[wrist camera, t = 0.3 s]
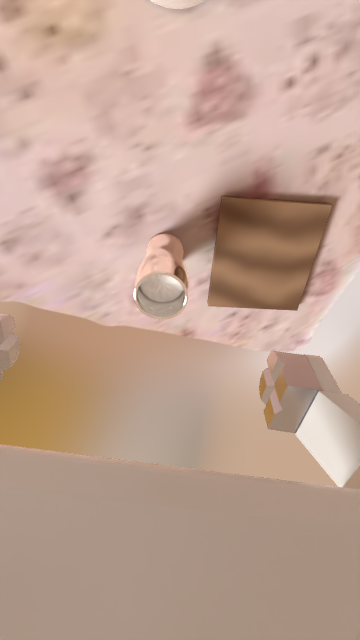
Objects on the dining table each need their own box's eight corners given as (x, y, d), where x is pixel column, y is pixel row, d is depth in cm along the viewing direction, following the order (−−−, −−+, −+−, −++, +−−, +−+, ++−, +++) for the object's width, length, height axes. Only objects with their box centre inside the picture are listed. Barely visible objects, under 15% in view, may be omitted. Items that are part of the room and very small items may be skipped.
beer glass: (187, 230, 46) (190, 271, 34) (185, 271, 50) (188, 321, 37) (142, 229, 46) (129, 270, 33) (144, 271, 50) (133, 320, 37)
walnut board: (221, 196, 43) (222, 198, 42) (327, 202, 44) (332, 205, 43) (207, 301, 53) (208, 306, 52) (294, 306, 54) (297, 310, 53)
